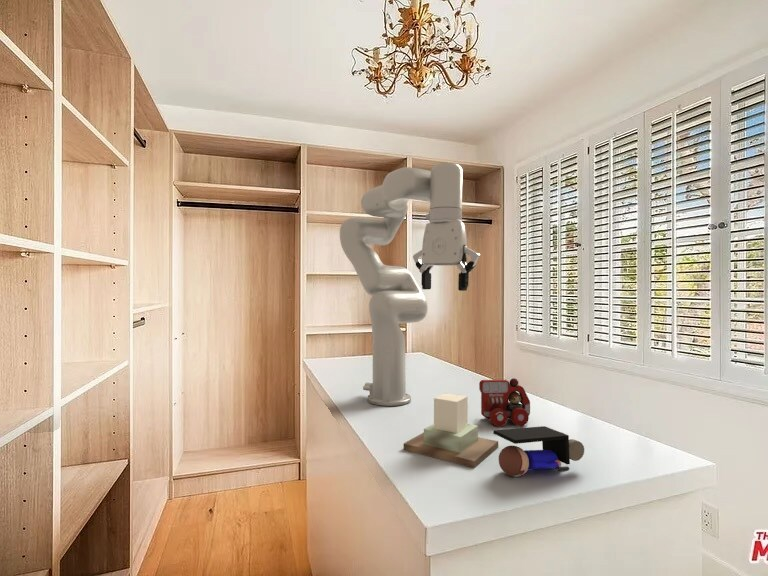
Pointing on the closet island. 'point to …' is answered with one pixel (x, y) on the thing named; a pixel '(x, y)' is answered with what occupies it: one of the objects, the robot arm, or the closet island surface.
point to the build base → (454, 456)
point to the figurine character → (551, 456)
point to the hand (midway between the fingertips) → (444, 289)
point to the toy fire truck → (504, 402)
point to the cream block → (450, 412)
